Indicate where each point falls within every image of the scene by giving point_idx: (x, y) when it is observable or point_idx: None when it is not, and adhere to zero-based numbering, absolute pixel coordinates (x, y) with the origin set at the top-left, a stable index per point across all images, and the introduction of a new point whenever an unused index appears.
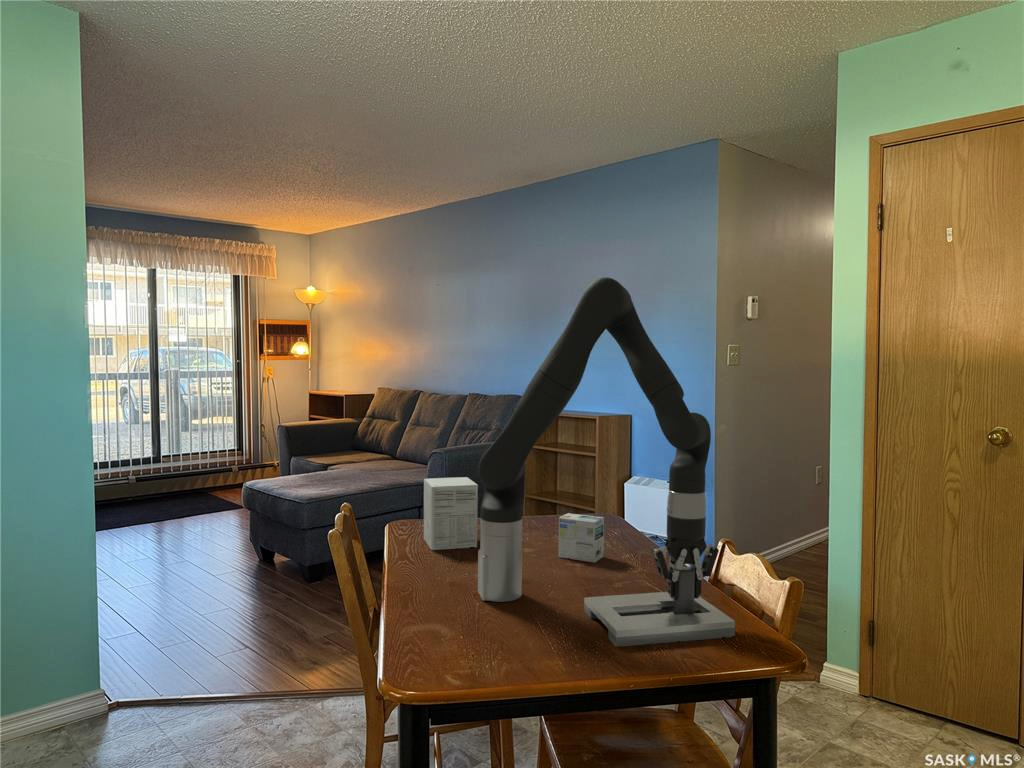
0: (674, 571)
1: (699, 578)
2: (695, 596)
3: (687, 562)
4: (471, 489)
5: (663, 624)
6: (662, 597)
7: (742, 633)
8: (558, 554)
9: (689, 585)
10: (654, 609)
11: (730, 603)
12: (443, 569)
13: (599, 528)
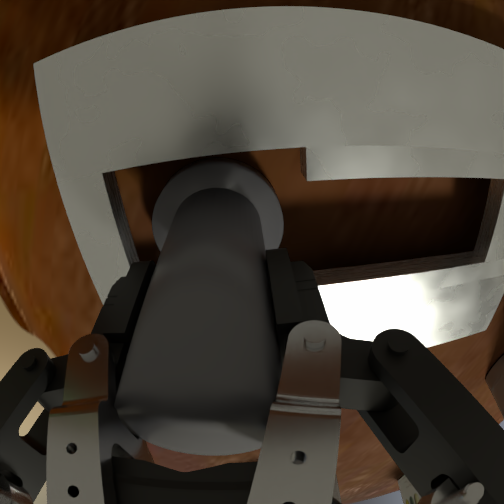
0: (333, 393)
1: (96, 343)
2: (150, 265)
3: (184, 482)
4: None
5: (414, 46)
6: None
7: (35, 100)
8: (336, 477)
9: (188, 288)
10: (331, 270)
11: (45, 331)
12: (491, 414)
13: None
